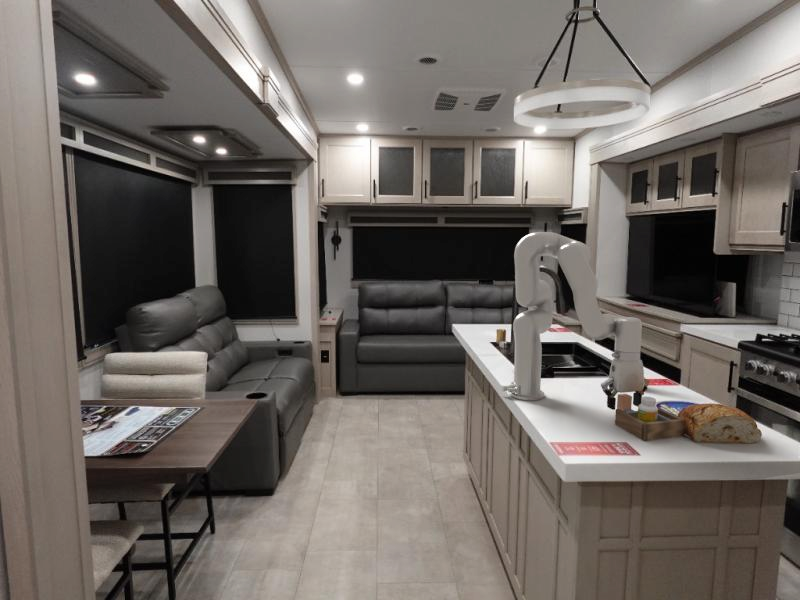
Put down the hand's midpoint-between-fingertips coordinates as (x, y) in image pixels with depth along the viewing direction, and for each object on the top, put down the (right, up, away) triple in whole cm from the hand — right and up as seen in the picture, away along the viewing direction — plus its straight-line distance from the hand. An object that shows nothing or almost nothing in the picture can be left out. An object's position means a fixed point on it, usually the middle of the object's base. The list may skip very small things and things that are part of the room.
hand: (624, 407), depth 160 cm
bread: (+21, -5, -12) cm, 25 cm away
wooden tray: (+2, -5, -10) cm, 11 cm away
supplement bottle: (+2, -5, -10) cm, 11 cm away
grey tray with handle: (+2, -4, -7) cm, 8 cm away
